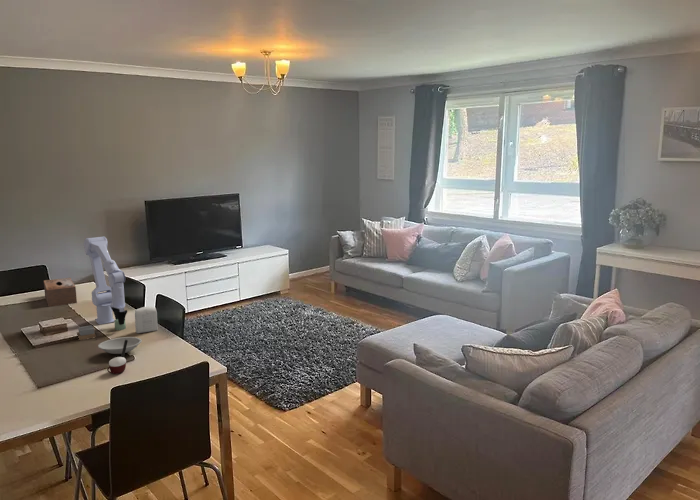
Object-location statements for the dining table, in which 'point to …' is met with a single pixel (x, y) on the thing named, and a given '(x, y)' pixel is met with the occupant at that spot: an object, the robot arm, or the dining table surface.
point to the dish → (119, 345)
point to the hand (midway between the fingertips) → (120, 322)
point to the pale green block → (119, 327)
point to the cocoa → (118, 362)
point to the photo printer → (146, 319)
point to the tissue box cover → (60, 292)
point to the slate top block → (86, 330)
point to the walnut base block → (85, 336)
